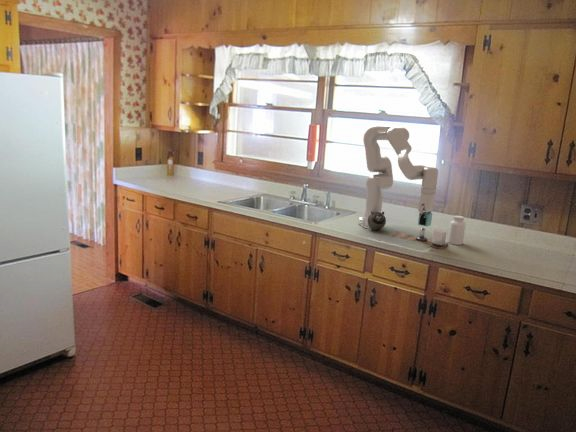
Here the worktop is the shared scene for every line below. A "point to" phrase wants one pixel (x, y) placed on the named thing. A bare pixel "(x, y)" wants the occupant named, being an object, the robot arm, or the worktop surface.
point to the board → (413, 238)
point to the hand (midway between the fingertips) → (424, 223)
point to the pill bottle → (456, 230)
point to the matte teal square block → (428, 219)
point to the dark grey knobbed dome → (421, 235)
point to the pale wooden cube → (438, 238)
